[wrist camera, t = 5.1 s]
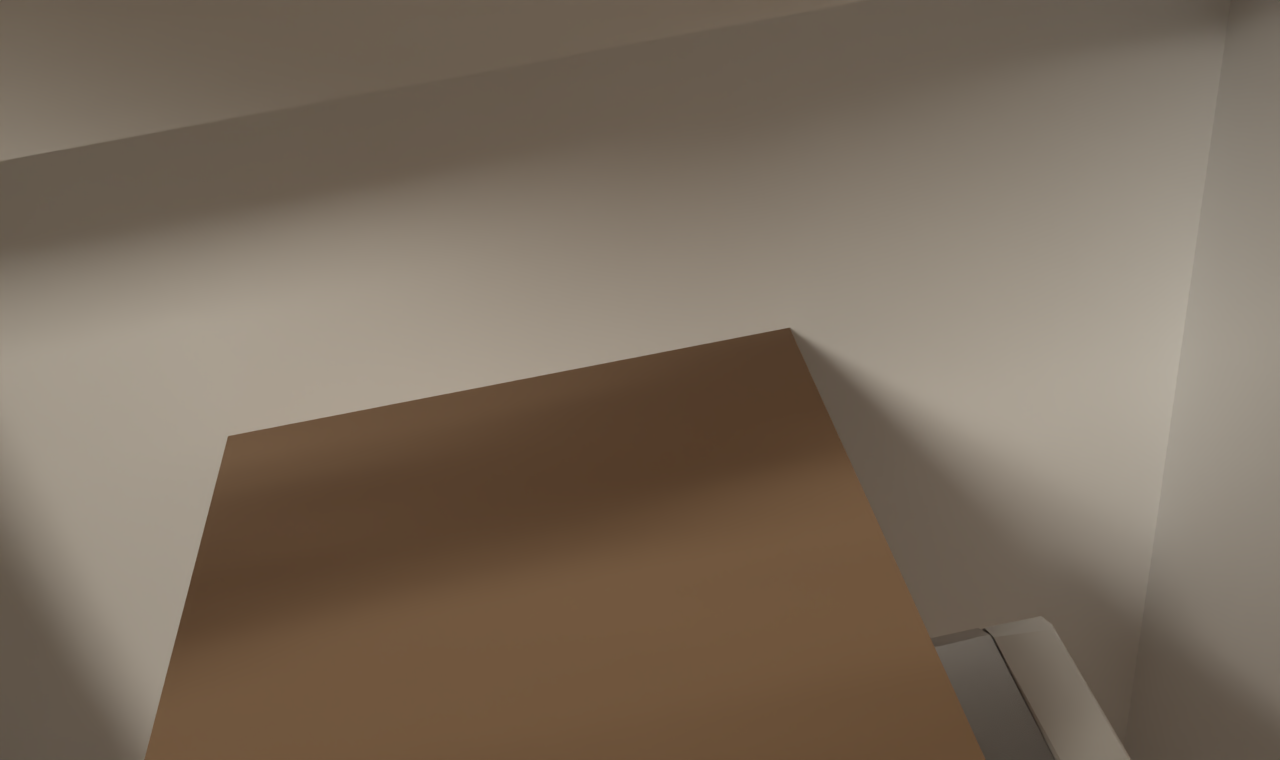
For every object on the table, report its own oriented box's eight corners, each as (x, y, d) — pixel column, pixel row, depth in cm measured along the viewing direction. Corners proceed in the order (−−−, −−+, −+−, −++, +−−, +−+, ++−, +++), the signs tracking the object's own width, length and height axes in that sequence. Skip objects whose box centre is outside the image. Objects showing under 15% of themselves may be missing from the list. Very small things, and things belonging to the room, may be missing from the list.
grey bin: (-609, -12, 8) (-1169, 203, 5) (1321, -360, 9) (1751, -327, 6) (145, 1008, 16) (80, 1315, 13) (1136, 803, 17) (1279, 1058, 14)
